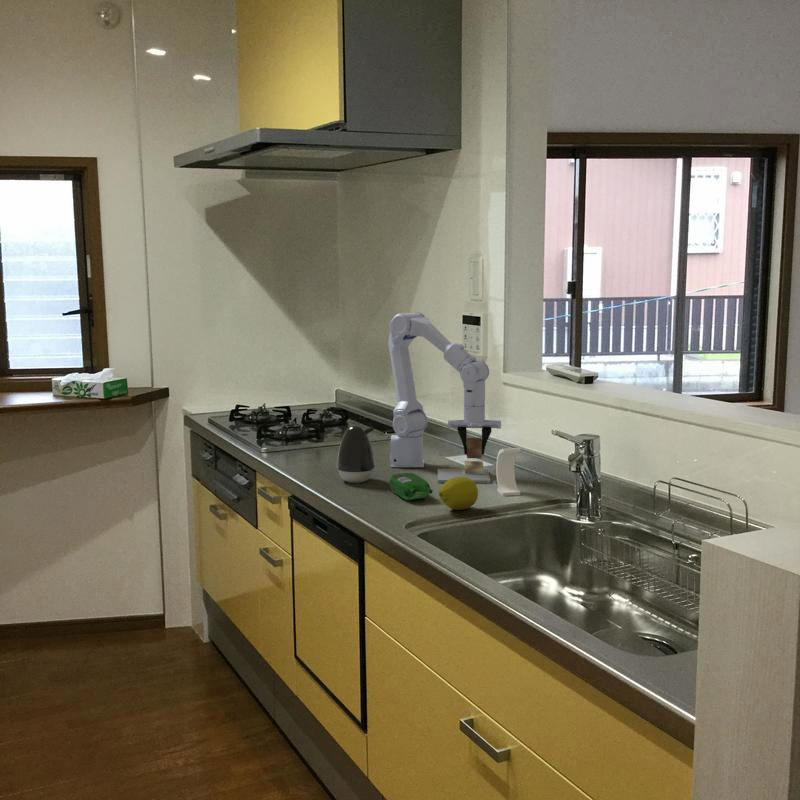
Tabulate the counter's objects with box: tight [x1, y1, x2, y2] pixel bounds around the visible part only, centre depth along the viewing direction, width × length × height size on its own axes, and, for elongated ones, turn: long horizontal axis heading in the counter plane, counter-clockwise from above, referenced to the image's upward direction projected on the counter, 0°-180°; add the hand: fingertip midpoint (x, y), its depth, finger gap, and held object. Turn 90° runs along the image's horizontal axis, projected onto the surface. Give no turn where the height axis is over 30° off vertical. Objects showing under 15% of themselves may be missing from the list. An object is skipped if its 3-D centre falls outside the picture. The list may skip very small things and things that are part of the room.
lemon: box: [438, 477, 479, 511], centre depth 226 cm, size 11×8×8 cm
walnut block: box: [466, 437, 483, 459], centre depth 262 cm, size 4×4×5 cm
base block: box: [464, 460, 484, 474], centre depth 263 cm, size 5×5×2 cm
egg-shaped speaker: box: [336, 424, 375, 484], centre depth 255 cm, size 10×10×15 cm
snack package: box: [388, 472, 434, 501], centre depth 239 cm, size 7×16×5 cm, turn 19°
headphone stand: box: [495, 447, 522, 497], centre depth 242 cm, size 5×6×12 cm
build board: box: [437, 468, 491, 484], centre depth 260 cm, size 14×14×1 cm
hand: (474, 453), depth 262 cm, fingers closed on walnut block, 4 cm apart
